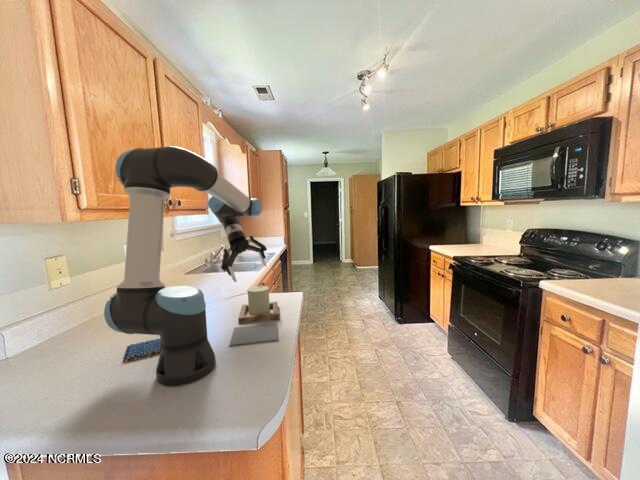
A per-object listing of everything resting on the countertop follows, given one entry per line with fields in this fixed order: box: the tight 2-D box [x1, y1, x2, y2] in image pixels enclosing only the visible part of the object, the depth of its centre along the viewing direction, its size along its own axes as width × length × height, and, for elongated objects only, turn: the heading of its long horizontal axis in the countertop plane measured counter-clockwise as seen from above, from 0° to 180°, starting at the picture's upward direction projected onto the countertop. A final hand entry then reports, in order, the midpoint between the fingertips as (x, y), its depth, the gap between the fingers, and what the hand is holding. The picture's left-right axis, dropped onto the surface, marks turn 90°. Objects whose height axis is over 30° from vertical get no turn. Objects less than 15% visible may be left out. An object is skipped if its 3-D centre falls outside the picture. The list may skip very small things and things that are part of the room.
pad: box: [229, 322, 279, 348], centre depth 97 cm, size 16×14×1 cm
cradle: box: [237, 301, 280, 324], centre depth 117 cm, size 16×16×2 cm
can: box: [247, 285, 271, 315], centre depth 116 cm, size 9×9×12 cm
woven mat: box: [122, 338, 161, 363], centre depth 88 cm, size 10×11×2 cm
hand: (249, 272), depth 110 cm, fingers open, 13 cm apart
